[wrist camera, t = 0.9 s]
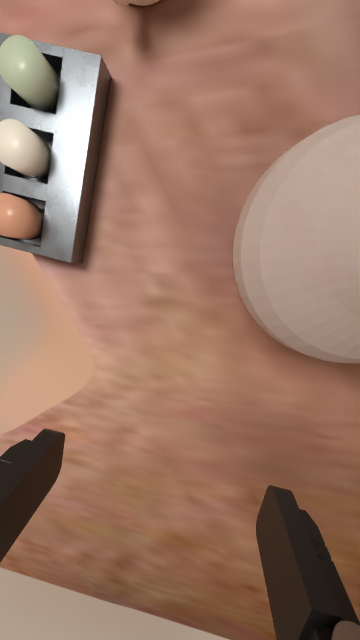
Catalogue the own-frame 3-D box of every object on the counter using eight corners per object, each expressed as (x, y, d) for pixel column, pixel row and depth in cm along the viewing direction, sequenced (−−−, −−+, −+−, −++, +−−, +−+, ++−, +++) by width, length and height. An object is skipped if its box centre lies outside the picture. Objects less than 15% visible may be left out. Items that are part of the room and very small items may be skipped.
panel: (1, 51, 29) (-21, 28, 27) (111, 76, 29) (100, 55, 26) (-13, 239, 34) (-33, 236, 31) (82, 263, 34) (70, 262, 31)
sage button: (24, 59, 28) (-1, 30, 24) (63, 68, 28) (44, 40, 24) (20, 106, 29) (-5, 84, 25) (58, 114, 28) (38, 94, 25)
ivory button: (17, 132, 29) (-7, 114, 26) (55, 140, 29) (35, 124, 26) (14, 173, 30) (-10, 162, 27) (50, 182, 30) (30, 171, 27)
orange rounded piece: (12, 197, 31) (-12, 188, 27) (47, 206, 31) (27, 198, 27) (8, 235, 32) (-15, 231, 28) (42, 243, 32) (23, 241, 28)
